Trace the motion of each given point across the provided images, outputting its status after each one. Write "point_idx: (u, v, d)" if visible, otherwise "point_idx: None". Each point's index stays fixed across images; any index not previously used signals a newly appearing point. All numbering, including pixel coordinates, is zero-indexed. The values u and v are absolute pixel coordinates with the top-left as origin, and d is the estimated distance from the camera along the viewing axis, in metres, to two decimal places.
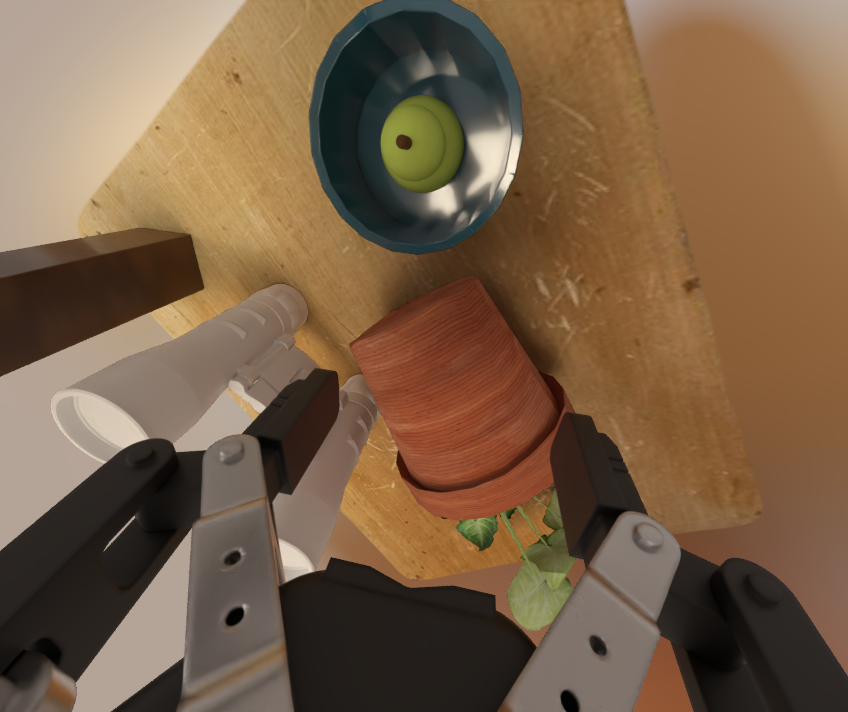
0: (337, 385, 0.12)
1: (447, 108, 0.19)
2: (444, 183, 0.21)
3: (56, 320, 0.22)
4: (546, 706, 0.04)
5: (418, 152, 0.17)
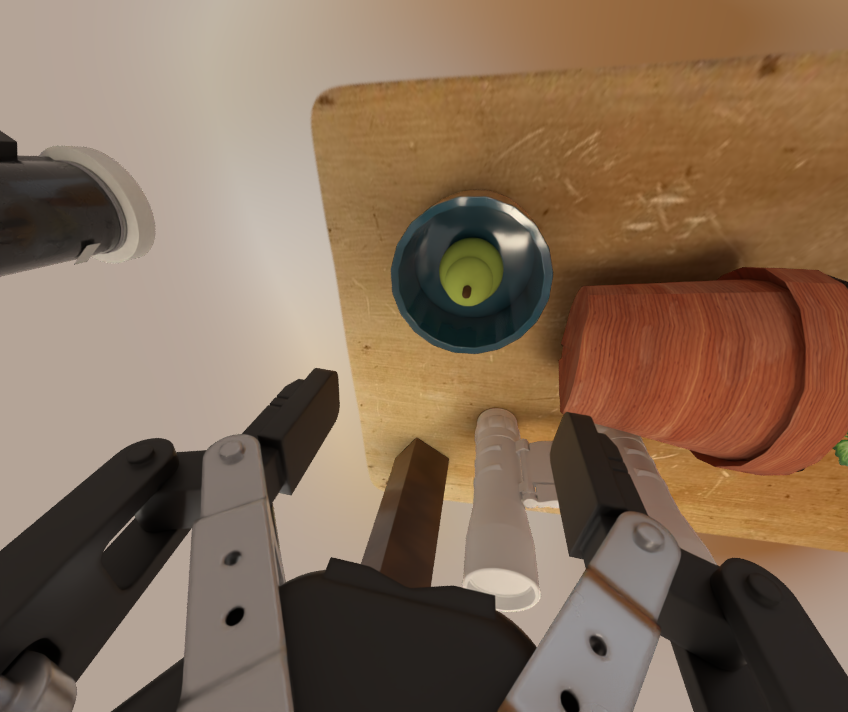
0: (337, 385, 0.12)
1: (461, 243, 0.26)
2: (502, 270, 0.26)
3: (419, 544, 0.32)
4: (546, 705, 0.04)
5: (477, 284, 0.23)
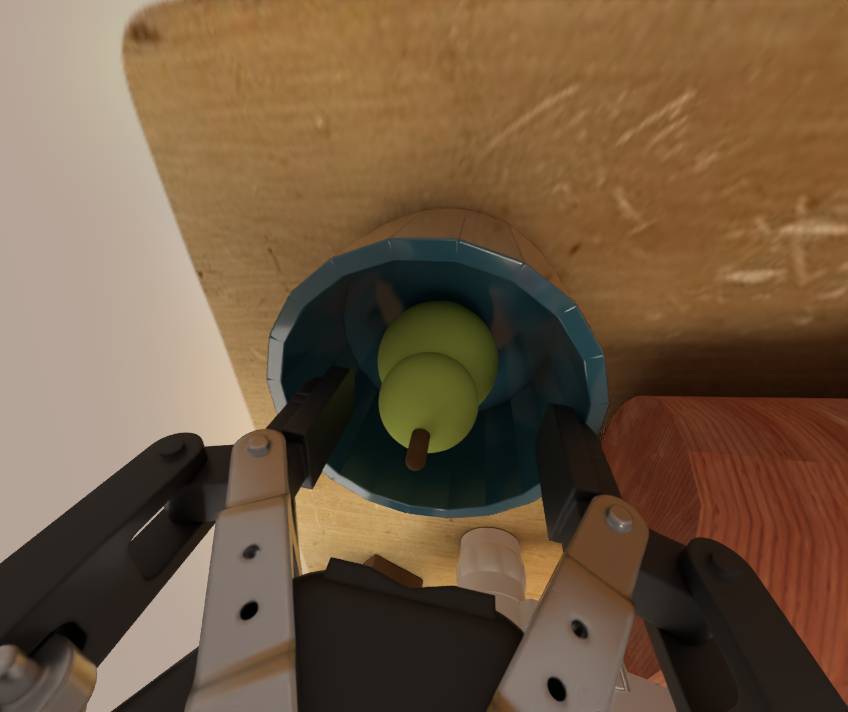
0: (353, 382, 0.12)
1: (415, 318, 0.13)
2: (496, 366, 0.14)
3: None
4: (534, 695, 0.04)
5: (442, 426, 0.11)
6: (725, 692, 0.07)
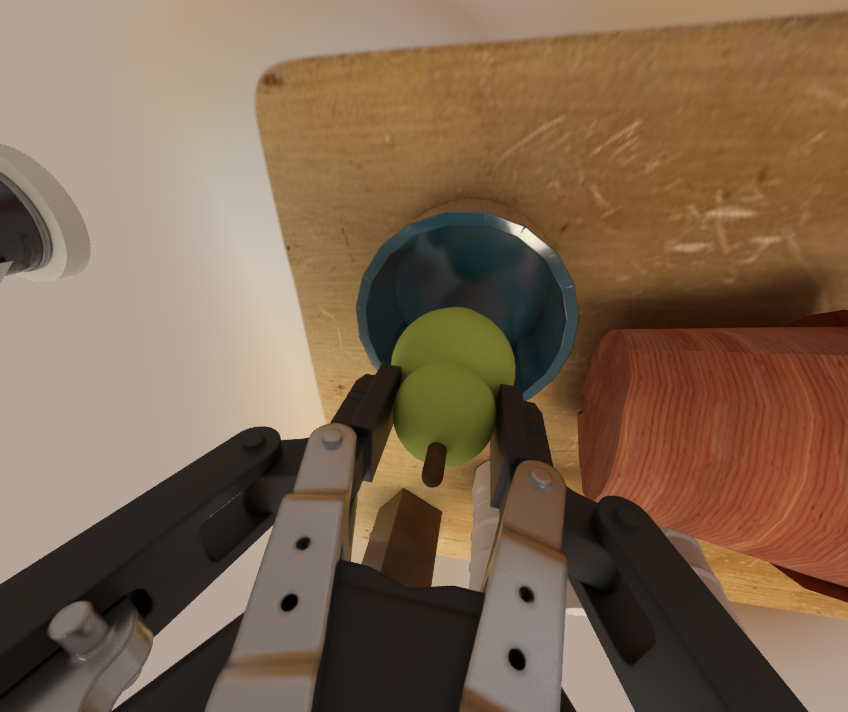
0: (400, 380, 0.13)
1: (431, 326, 0.13)
2: (514, 376, 0.13)
3: None
4: (499, 674, 0.05)
5: (459, 441, 0.10)
6: (642, 626, 0.07)
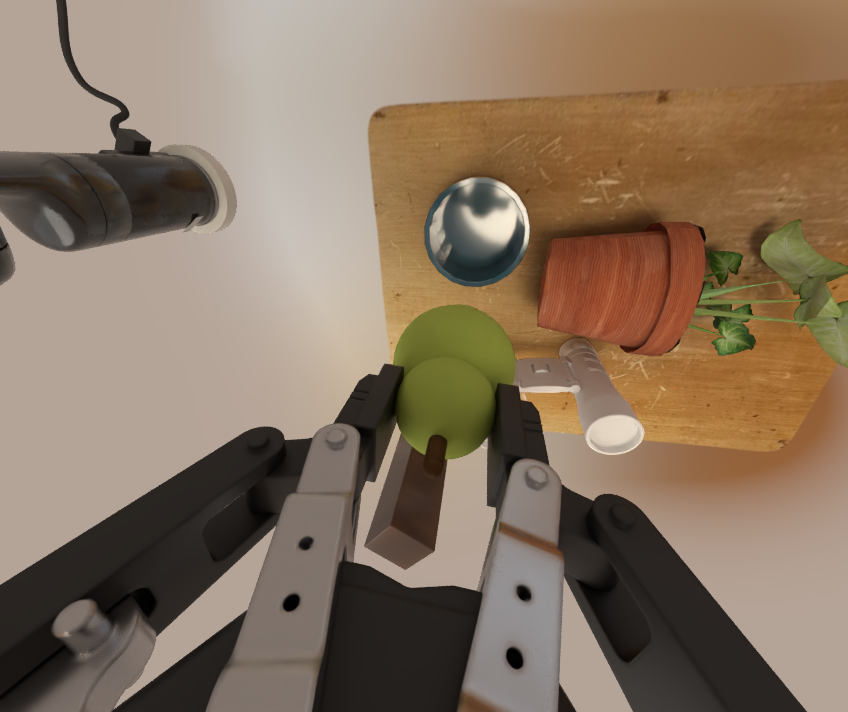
0: (402, 380, 0.13)
1: (433, 322, 0.13)
2: (514, 372, 0.13)
3: None
4: (497, 673, 0.05)
5: (459, 433, 0.10)
6: (637, 624, 0.07)
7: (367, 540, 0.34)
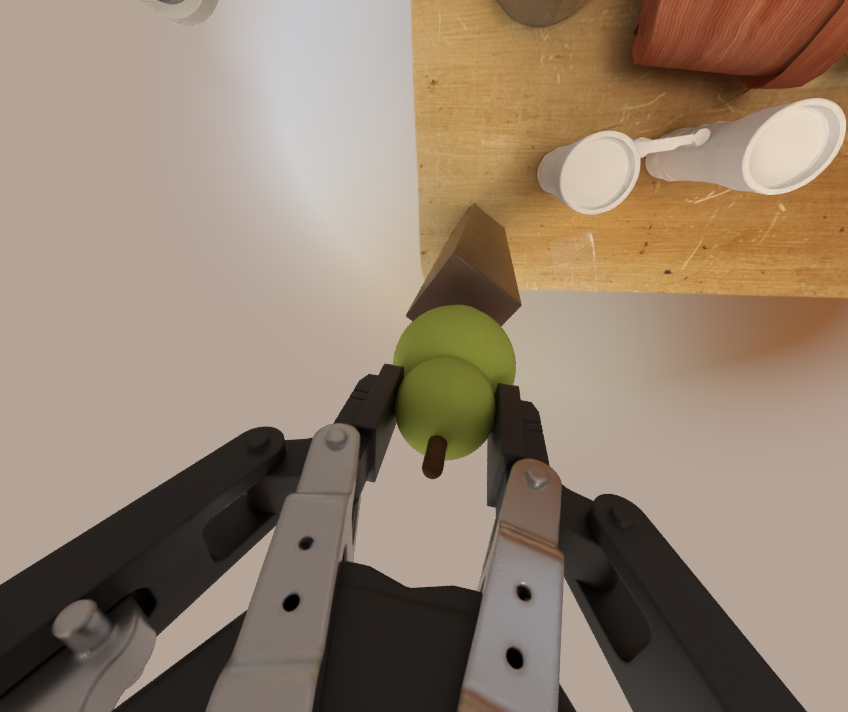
0: None
1: (433, 322, 0.13)
2: (514, 372, 0.13)
3: (494, 236, 0.33)
4: (497, 673, 0.05)
5: (459, 434, 0.10)
6: (638, 624, 0.07)
7: (410, 308, 0.22)
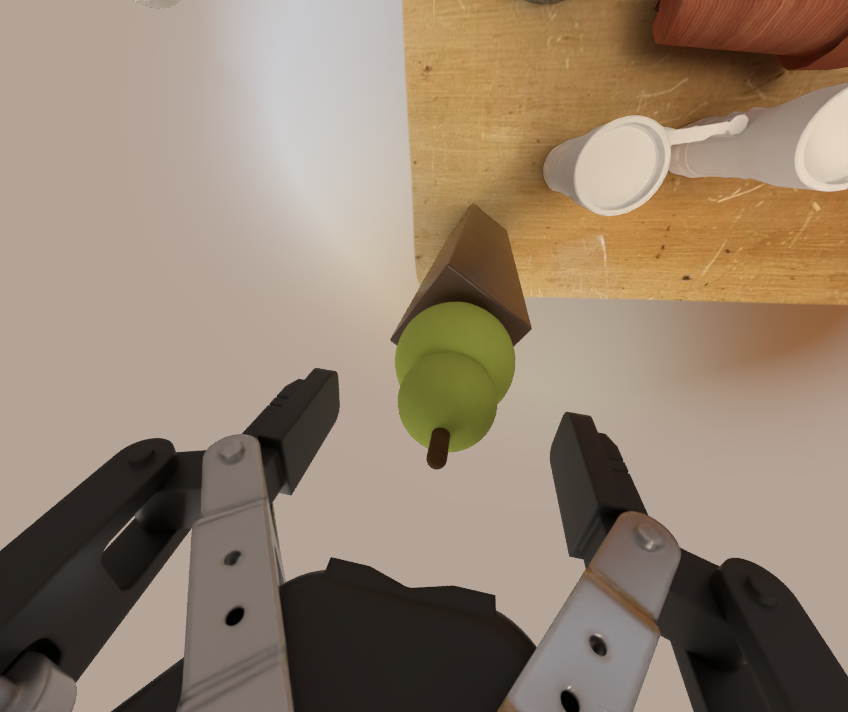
0: (337, 385, 0.12)
1: (434, 318, 0.13)
2: (513, 367, 0.14)
3: (496, 240, 0.29)
4: (546, 706, 0.04)
5: (462, 426, 0.11)
6: None
7: (396, 330, 0.18)
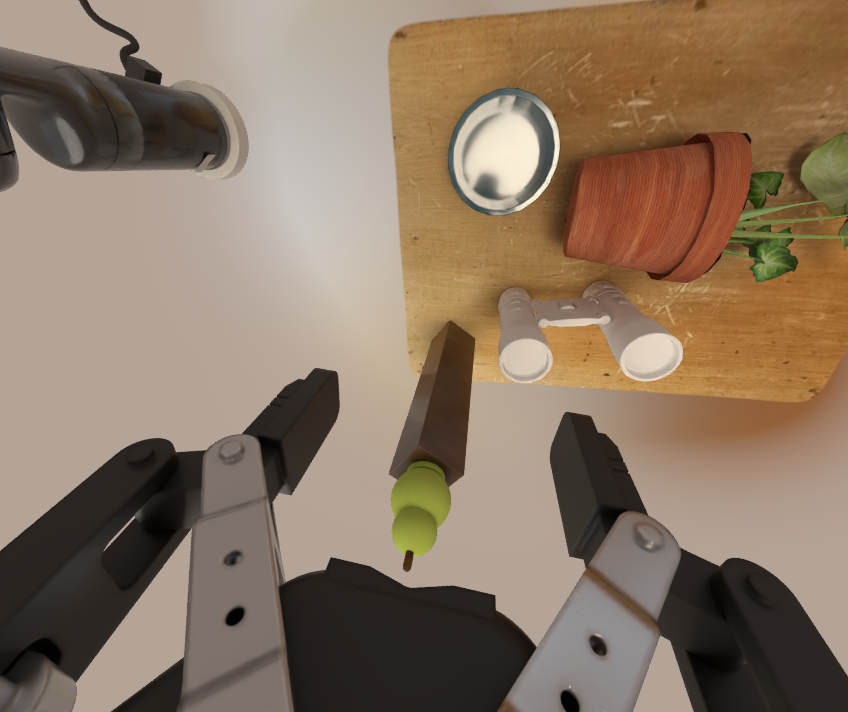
0: (337, 385, 0.12)
1: (409, 487, 0.27)
2: (448, 507, 0.28)
3: (460, 372, 0.44)
4: (546, 706, 0.04)
5: (418, 549, 0.25)
6: None
7: (391, 467, 0.32)
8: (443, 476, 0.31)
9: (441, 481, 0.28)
